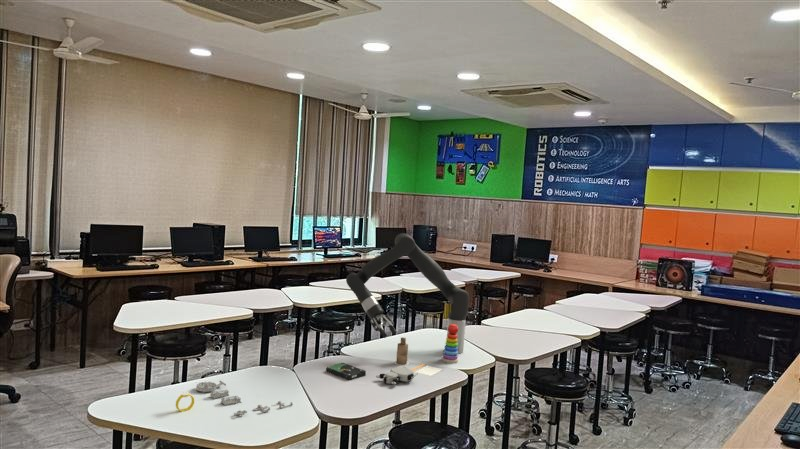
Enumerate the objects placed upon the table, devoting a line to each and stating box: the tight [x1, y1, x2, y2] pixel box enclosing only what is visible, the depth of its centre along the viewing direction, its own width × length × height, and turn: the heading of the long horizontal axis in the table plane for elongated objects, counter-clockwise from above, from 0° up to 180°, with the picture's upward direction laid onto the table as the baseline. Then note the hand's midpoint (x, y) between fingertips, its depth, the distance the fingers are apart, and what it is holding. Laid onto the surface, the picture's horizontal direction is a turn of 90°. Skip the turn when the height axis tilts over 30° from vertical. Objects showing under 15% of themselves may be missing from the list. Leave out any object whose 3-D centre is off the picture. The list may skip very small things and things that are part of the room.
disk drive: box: [325, 362, 366, 382], centre depth 234 cm, size 10×3×15 cm
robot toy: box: [376, 365, 419, 385], centre depth 229 cm, size 12×4×15 cm
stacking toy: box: [441, 324, 459, 364], centre depth 262 cm, size 8×8×19 cm
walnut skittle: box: [395, 337, 409, 366], centre depth 252 cm, size 5×5×12 cm
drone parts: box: [195, 380, 294, 416], centre depth 199 cm, size 23×35×3 cm, turn 44°
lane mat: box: [393, 361, 443, 377], centre depth 248 cm, size 15×25×1 cm, turn 60°
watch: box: [175, 391, 195, 412], centre depth 184 cm, size 6×3×6 cm, turn 136°
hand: (390, 335), depth 256 cm, fingers open, 8 cm apart
